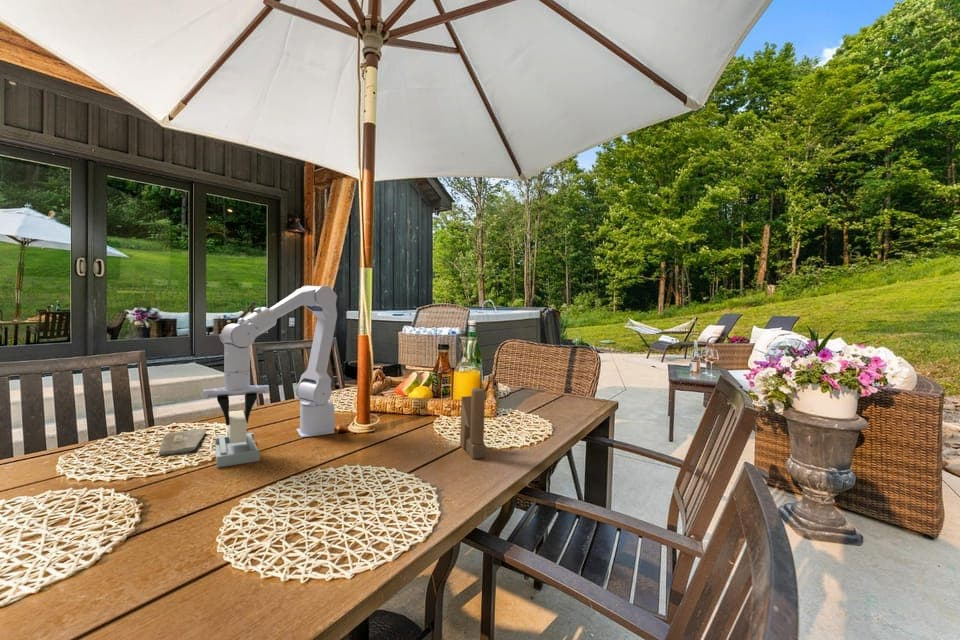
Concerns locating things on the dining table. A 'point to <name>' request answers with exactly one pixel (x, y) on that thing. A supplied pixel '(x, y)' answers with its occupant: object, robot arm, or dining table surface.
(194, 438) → the stone
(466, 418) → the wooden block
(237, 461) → the tray
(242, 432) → the clay bar
